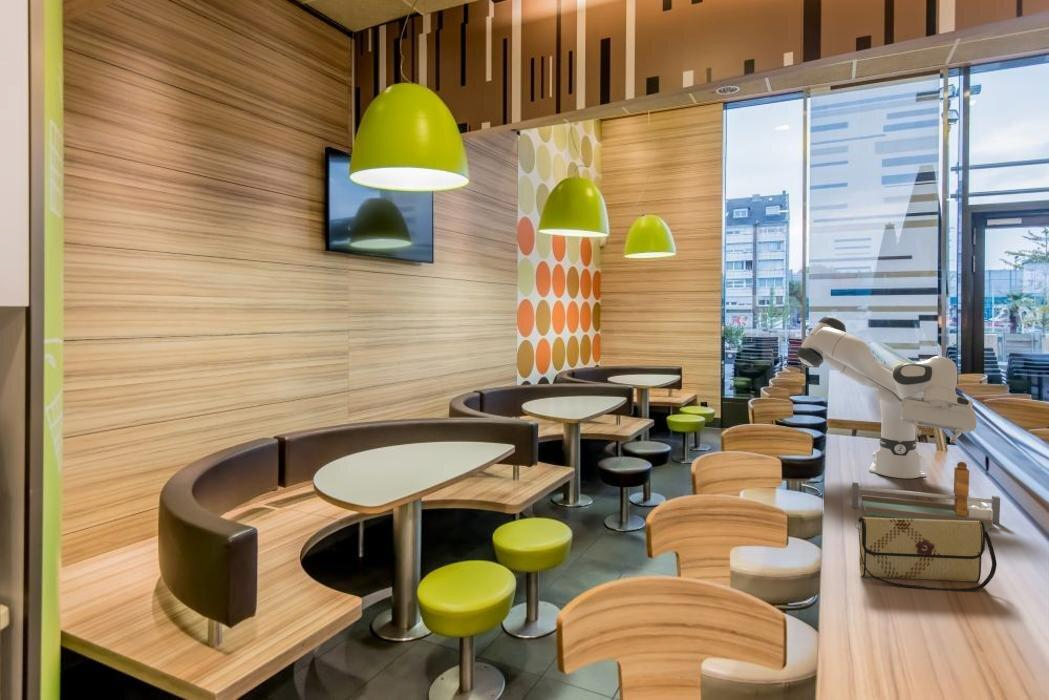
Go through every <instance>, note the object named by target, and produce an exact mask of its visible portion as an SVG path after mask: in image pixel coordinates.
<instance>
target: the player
mask: <svg viewBox="0 0 1049 700" xmlns="http://www.w3.org/2000/svg"><path fill="white" fill-rule="evenodd" d="M967 467H968V464H966V463H965V462H963V461H959V462H958V463H957V464H956V467H955V466H954V472H953V473H954V474H953V476H954V478H953V479H954V480H953V493H954V496H957V500H954V499H953V500H954V501H953V502H954V503H953V504H954V512H955V513H956V514H957V515H958V516H967V497H970V496H969V492H970V490H969V489H970V488H969V487H970V470H969V469H968V468H967Z"/></svg>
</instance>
